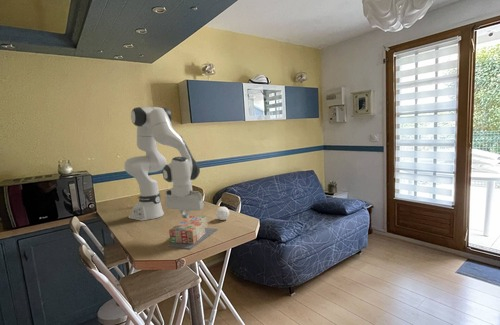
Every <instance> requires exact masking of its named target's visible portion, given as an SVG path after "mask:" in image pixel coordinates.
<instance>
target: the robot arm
mask: <svg viewBox="0 0 500 325" xmlns="http://www.w3.org/2000/svg"><path fill="white" fill-rule="evenodd" d="M171 112H172V111H171V110H170V109H169V108H166V107H159V106H145V107H140V106H139V107H134V108H133V109H132V110H131V112H130V113H131V114H130V119H131V122H132V124H133V125H134V126H136V146H137V148H138V149H139V150H140V151H142V152H145V155H139V156H133V157H130V158H128V159H126V160H125V162H124V165H123V166H124V170H125V172H126V173H127V174H128V175H130V176H131V177H133V178H135V181H136V182H137V184H138V188H139V194H140V196H138V197H137V199H139V201H138V202H137V203H136V204H135V205H134V206H133V207H132V209H131V214H129V215H128V218H129V219H130V220H137V221H141V222H142V221H147V220H153V219H154V220H155V219H157V218H161V217H163V216H164V215H165V212H164V210H163V207H162V203H161V194H160V190H159V183H158V181H157V179H154V178H152V177H150V176H149V173H157V172H160V171H162V176H163V180H165V181H166V182H168V183H172V187H171V188H169V189H166V190H165V191H164V194H165V198H164V199H165V200H164V201H165V207H166V209H167V210H177V211H179V213H180V215H181V217H182V219H184V220H186V219H188V218H189V217H190V213H191V211H196V212H200V211H202V210H203V209H204V208H205V204H204V200H203V194H202V193H201V192H200V191H199V190H193V183H192V181H195V180H196V179H197V178H198V177H199V175H200V172H201V170H200V166H199V164H198V162H197V161H196V160H195V158H194V157H193V155H192V152H191V150H190V149H189V147H188V144H187V142H186V141H185V139H184V138H183V136H182V135H180V134H179V133H178V132H177V131H175V129H174V128H173V124H172V120H173V119H172V118H173V117H172V113H171ZM157 143H158V144H160V145H163V146H167V147H171V148H173V149H175V150H177V151H178V153H179V154H180V156H175V157H172V158H171V161H170V163H168V162H167V158H166V157H165V156H164V154H162V153H161V152H159V149H158V147H157V145H158V144H157Z"/></svg>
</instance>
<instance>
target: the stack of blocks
mask: <svg viewBox="0 0 500 325" xmlns="http://www.w3.org/2000/svg"><path fill="white" fill-rule="evenodd" d="M205 228H208V222H207V216H206V215H191V216H190V215H189V218H188V219H183V221H181V222H179V223H178V224H176V225H175V226H173V227H172V228H169V230H168V232H169V233H168V234H169V240H170V244H172V243H187V244H194V243H195V242H196V241H198V240H199V239H200V238H201V237H202V236H203V235H204V234H205Z"/></svg>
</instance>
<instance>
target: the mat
mask: <svg viewBox="0 0 500 325" xmlns="http://www.w3.org/2000/svg"><path fill="white" fill-rule="evenodd" d="M217 231H218V228H212V227H206V228H205V234H204V235H203V236H202V237H201V238H200V239H199V240H198V241H196V242H195V243H194V244H187V243H170V244H168V245H167V246H168V247H170V248H178V249H185V250H191V249H193V248H194V247H195V246H197V245H198V244H199V243H201V242H203V241H204V240H206V238H209V237H210V236H211V235H213V234H214V233H215V232H217Z"/></svg>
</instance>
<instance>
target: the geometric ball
mask: <svg viewBox="0 0 500 325" xmlns="http://www.w3.org/2000/svg"><path fill="white" fill-rule="evenodd" d="M215 216H216V218H217V219H218V220H219V221H226V219H227V220H228V218H229V216H230V210H229V209H228V207H226V206H220V207H218V208H217V209H216V212H215Z"/></svg>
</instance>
